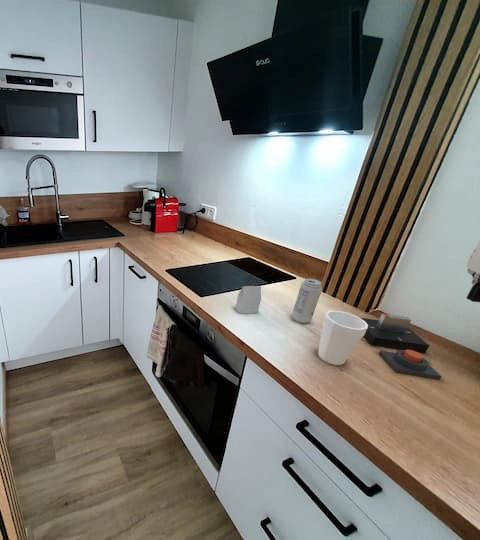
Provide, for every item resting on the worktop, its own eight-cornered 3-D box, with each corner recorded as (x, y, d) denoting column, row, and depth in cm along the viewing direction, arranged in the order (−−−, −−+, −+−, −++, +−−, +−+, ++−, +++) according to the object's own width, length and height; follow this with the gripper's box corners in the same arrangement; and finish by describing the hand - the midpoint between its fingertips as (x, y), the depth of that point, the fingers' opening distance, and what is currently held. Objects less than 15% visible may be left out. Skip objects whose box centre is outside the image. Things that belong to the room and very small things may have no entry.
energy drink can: (312, 325, 97) (326, 286, 91) (293, 322, 99) (305, 283, 93) (307, 316, 103) (320, 279, 97) (289, 313, 104) (300, 276, 98)
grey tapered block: (257, 313, 104) (263, 288, 100) (239, 313, 103) (245, 288, 100) (252, 307, 107) (258, 284, 103) (235, 308, 107) (240, 284, 103)
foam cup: (356, 361, 81) (373, 322, 76) (343, 373, 77) (360, 334, 71) (320, 343, 89) (333, 307, 83) (305, 354, 84) (319, 316, 78)
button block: (418, 359, 83) (423, 351, 81) (439, 379, 76) (445, 371, 74) (378, 353, 85) (382, 345, 84) (395, 372, 78) (400, 363, 76)
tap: (401, 330, 91) (408, 316, 89) (404, 333, 89) (411, 319, 87) (375, 326, 93) (382, 312, 90) (378, 329, 91) (385, 315, 89)
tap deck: (399, 330, 96) (403, 322, 95) (425, 353, 85) (430, 345, 84) (352, 324, 99) (355, 316, 98) (371, 345, 88) (375, 337, 87)
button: (414, 355, 80) (417, 350, 80) (423, 364, 77) (426, 359, 76) (399, 353, 81) (402, 348, 80) (408, 361, 78) (410, 356, 77)
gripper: (572, 243, 60) (524, 317, 67) (502, 225, 73) (468, 289, 80) (526, 240, 61) (484, 313, 69) (467, 224, 75) (436, 286, 82)
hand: (476, 300), depth 74 cm, fingers closed
